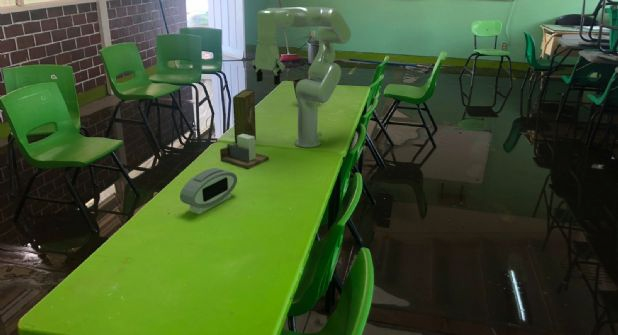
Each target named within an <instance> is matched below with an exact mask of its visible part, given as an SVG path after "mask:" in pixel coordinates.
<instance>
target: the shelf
mask: <svg viewBox="0 0 618 335" xmlns="http://www.w3.org/2000/svg"><path fill="white" fill-rule="evenodd" d="M219 151H220V152H219V153H220V162H223V163H227V164H230V165H232V166H236V167H239V168H243V169H246V170H249V169H251V168H253V167H256V166H258V165H261V164H262V163H265V162H267V161H269V159H270V158H269V156H267V155H265V154H260V153H258V152H255V153H256V158H255V159H253V160H250V161H249V149H245V148H242V147H238V146H237V143H235V142H234V143H233V144H231V143H227V144H226V146H225V147H223V148H220V150H219Z"/></svg>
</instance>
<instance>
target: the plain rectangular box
mask: <svg viewBox="0 0 618 335" xmlns="http://www.w3.org/2000/svg"><path fill="white" fill-rule="evenodd" d="M237 146H238V147H242V148H245V149H249V161H250V160H253V159H255V158H256V153H257V152H256V140H255V137H254V136H250V135H246V134H241V135H238V136H237Z"/></svg>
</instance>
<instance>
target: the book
mask: <svg viewBox="0 0 618 335" xmlns="http://www.w3.org/2000/svg"><path fill="white" fill-rule="evenodd" d="M255 98H256V97H255V90H254V89H248V88H247V89H242V90H241V91H239V92H238V93H237V94H235V95H234V96H233V97H232V108H233V112H232V113H233V128H234V144H235V143H237V136H238V135H241V134H246V135H250V136H254V137H255V141H256V140H257V136H256V135H257V133H256V132H257V130H256V129H257V128H256V103H255V102H256V101H255Z"/></svg>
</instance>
